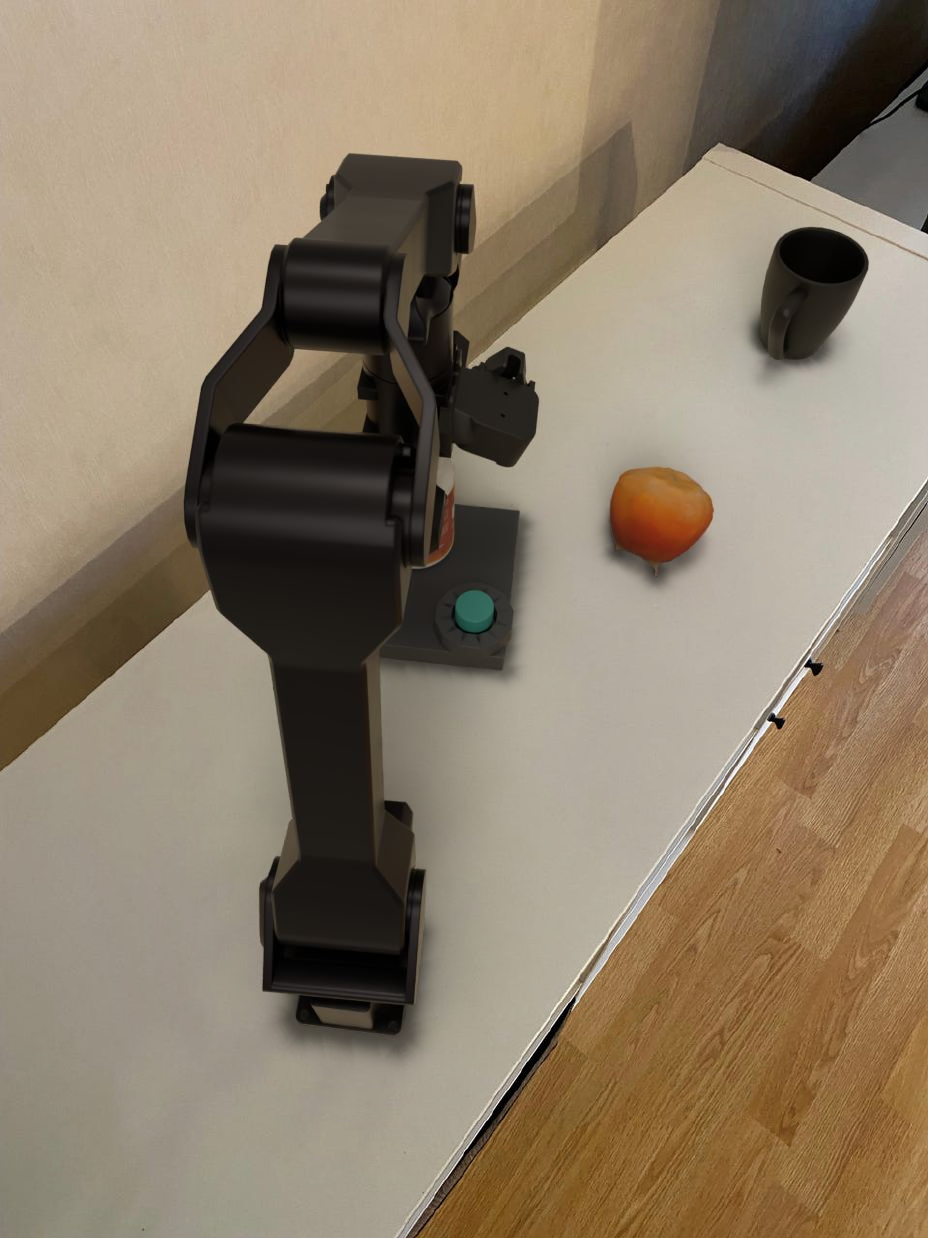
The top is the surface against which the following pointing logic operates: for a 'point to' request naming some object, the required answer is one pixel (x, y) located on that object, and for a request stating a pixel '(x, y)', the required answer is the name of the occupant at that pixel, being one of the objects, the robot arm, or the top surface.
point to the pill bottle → (448, 485)
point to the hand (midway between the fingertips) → (414, 510)
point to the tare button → (474, 611)
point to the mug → (809, 289)
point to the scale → (434, 591)
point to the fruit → (658, 513)
